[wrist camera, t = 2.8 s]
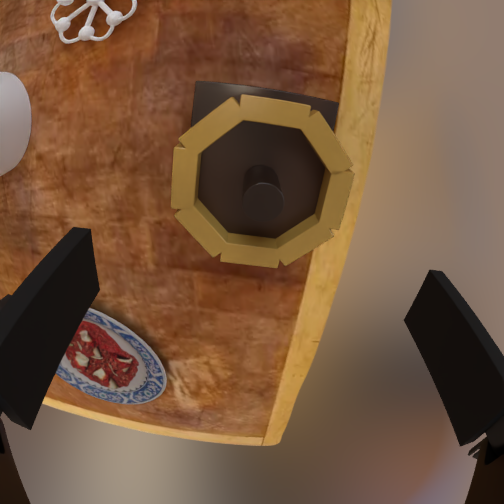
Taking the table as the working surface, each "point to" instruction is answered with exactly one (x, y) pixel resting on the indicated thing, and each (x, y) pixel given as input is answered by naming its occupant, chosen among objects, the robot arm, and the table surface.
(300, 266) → the table surface
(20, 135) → the canister
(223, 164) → the stand
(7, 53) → the table surface
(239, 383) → the table surface
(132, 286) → the table surface
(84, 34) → the tangled rod sculpture
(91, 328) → the ceramic plate
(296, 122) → the ring
